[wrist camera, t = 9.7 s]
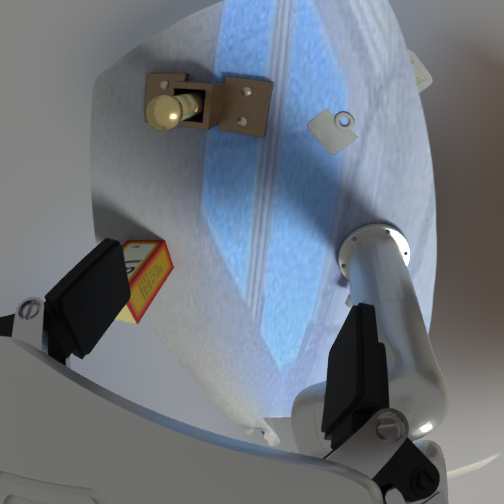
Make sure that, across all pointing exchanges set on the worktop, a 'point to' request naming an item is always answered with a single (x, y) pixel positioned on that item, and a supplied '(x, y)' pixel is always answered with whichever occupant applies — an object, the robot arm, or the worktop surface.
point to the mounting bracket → (340, 135)
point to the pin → (174, 109)
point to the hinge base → (219, 101)
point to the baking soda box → (144, 275)
